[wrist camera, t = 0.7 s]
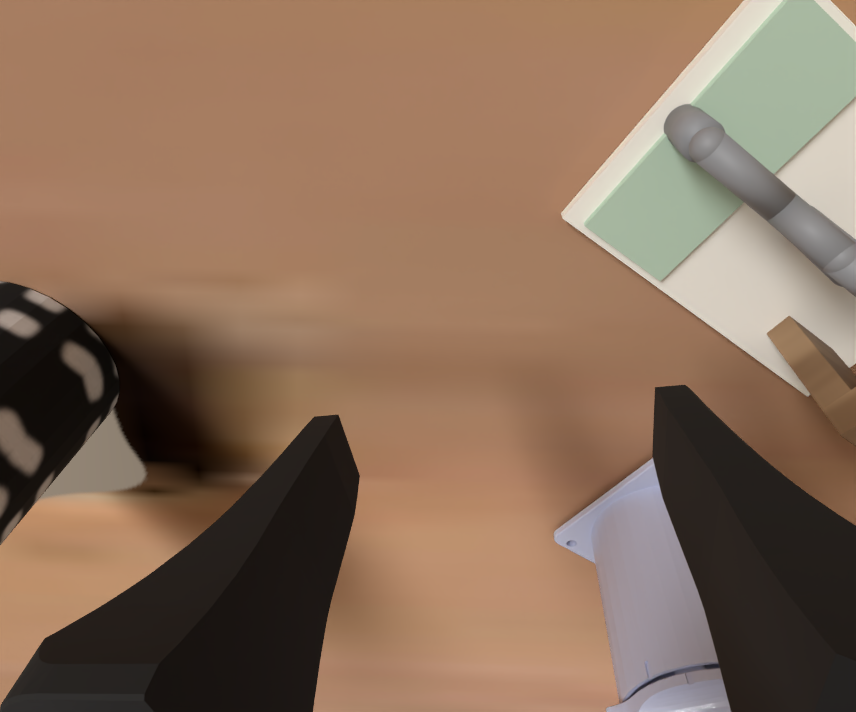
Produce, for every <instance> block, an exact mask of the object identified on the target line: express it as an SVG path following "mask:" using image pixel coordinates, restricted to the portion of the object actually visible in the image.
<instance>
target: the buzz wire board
mask: <svg viewBox="0 0 856 712" xmlns="http://www.w3.org/2000/svg"><path fill="white" fill-rule="evenodd" d="M782 1H783V0H744V1H743V2H742V3H741V4H740V6H739V7H738V8H737V9H736V10H735V11H734V13H733V14H732V15H731V16H730V17H729V18H728V19H727V21H726V22H725V23H724V24H723V25H722V26H721V28H720V29H719V30H718V31H717V32H716V33H715V35H714V36H713V37H712V38H711V39H710V40H709V42H708V43H707V44H706V45H705V46H704V47H703V49H702V50H701V51H700V52H699V53H698V54H697V56H696V57H695V58H694V59H693V60H692V61H691V63H690V64H689V65H688V66H687V67H686V68H685V69H684V71H683V72H682V73H681V74H680V75H679V76H678V78H677V79H676V80H675V81H674V82H673V83H672V85H671V86H670V87H669V88H668V89H667V90H666V92H665V93H664V94H663V95H662V96H661V97H660V99H659V100H658V101H657V102H656V103H655V104H654V106H653V107H652V108H651V109H650V110H649V111H648V113H647V114H646V115H645V116H644V117H643V118H642V119H641V121H640V122H639V123H638V124H637V125H636V126H635V128H634V129H633V130H632V131H631V132H630V133H629V135H628V136H627V137H626V138H625V139H624V140H623V142H622V143H621V144H620V145H619V146H618V147H617V149H616V150H615V151H614V152H613V153H612V154H611V156H610V157H609V158H608V159H607V160H606V161H605V163H604V164H603V165H602V166H601V167H600V168H599V169H598V171H597V172H596V173H595V174H594V175H593V176H592V178H591V179H590V180H589V181H588V182H587V183H586V185H585V186H584V187H583V188H582V189H581V190H580V192H579V193H578V194H577V195H576V196H575V197H574V199H573V200H572V201H571V202H570V203H569V204H568V206H567V207H566V208H565V209H564V210H563V211H562V213H561V215H562V218H563V219H564V220H565V221H567V222H568V223H570V224H571V225H572V226H574V227H575V228H576V229H578V230H579V231H581V232H582V233H583V234H585V235H586V236H587V237H589V238H590V239H592V240H593V241H594V242H596V243H597V244H598V245H600V246H601V247H603V248H604V249H605V250H607V251H608V252H609V253H611V254H612V255H614V256H615V257H616V258H618V259H619V260H620V261H622V262H623V263H625V264H626V265H627V266H629V267H630V268H631V269H633V270H634V271H635V272H637V273H638V274H640V275H641V276H642V277H644V278H645V279H646V280H648V281H649V282H651V283H652V284H653V285H655V286H656V287H657V288H659V289H660V290H662V291H663V292H664V293H666V294H667V295H668V296H670V297H671V298H673V299H674V300H675V301H677V302H678V303H679V304H681V305H682V306H684V307H685V308H686V309H688V310H689V311H690V312H692V313H693V314H695V315H696V316H697V317H699V318H700V319H701V320H703V321H704V322H706V323H707V324H708V325H710V326H711V327H712V328H714V329H715V330H717V331H718V332H719V333H721V334H722V335H723V336H725V337H726V338H728V339H729V340H730V341H732V342H733V343H734V344H736V345H737V346H739V347H740V348H741V349H743V350H744V351H745V352H747V353H748V354H750V355H751V356H752V357H754V358H755V359H756V360H758V361H759V362H761V363H762V364H763V365H765V366H766V367H767V368H769V369H770V370H772V371H773V372H774V373H776V374H777V375H778V376H780V377H781V378H782V379H784V380H785V381H787V382H788V383H789V384H791V385H792V386H793V387H795V388H796V389H798V390H799V391H800V392H802V393H803V394H804V395H806V396H807V397H808V396H809V395H811V394H810V393H809V391H808V390H807V389H806V387H805V386H804V385H803V383H802V382H801V380H800V379H799V378H798V376H797V375H796V374H795V372H794V371H793V369H792V368H791V367H790V365H789V364H788V363H787V361H786V360H785V359H784V357H783V356H782V354H781V353H780V352H779V350H778V349H777V348H776V346H775V345H774V343H773V342H772V341H771V339H770V338H769V337H768V335H767V334H766V333H768V332H769V331H770V330H771V329H773V328H774V327H775V326H776V325H778V324H779V323H780V322H782V321H783V320H784V319H785V318H787V317H788V316H791V317H792V318H793V319H795V320H796V321H797V322H798V323H800V324H801V325H802V326H804V327H805V328H806V329H808V330H809V331H810V332H811V333H813V334H814V335H815V336H817V337H818V338H819V339H820V340H822V341H823V342H824V343H826V344H827V345H828V346H829V347H831V348H832V349H833V350H834V351H835V352H836V353H837V355H838V356H839V357H840V358H841V359H842V360H843V361H844V363H845V364H846V365H847V366H848V367H849V368H850V367H851V366H853V365H854V364H856V97H855V98H854V99H853V100H852V101H850V102H849V103H848V104H847V105H846V106H845V107H844V108H843V109H842V110H841V111H840V112H839V113H838V114H837V115H836V116H835V117H834V118H833V119H831V120H830V121H829V122H828V123H827V124H826V125H825V126H824V127H823V128H822V129H821V130H820V131H819V132H818V133H817V134H816V135H815V136H813V137H812V138H811V139H810V140H809V141H808V142H807V143H806V144H805V145H804V146H803V147H802V148H801V149H800V150H799V151H798V152H797V153H796V154H794V155H793V156H792V157H791V158H790V159H789V160H788V161H787V162H786V163H785V164H784V165H783V166H782V167H781V168H780V169H779V170H778V171H777V172H775V173H774V174H773V173H772V172H770V171H769V170H768V169H767V168H766V167H765V166H763V165H762V164H761V163H760V162H759V161H758V160H756V159H755V158H754V157H753V156H752V155H751V154H749V153H748V152H747V151H746V150H745V149H744V148H743V147H741V146H740V145H739V144H738V143H737V142H736V141H734V140H733V139H732V138H731V137H730V136H729V135H727V134H726V133H725V130H724V127H723V126H722V125H721V124H720V123H719V122H718V121H716V120H715V119H714V118H712V117H711V116H710V115H708V114H707V113H705V112H704V111H703V110H701V109H700V108H698V107H695V106H692V105H691V102H692V101H693V100H694V99H695V98H696V97H697V96H698V95H699V94H700V92H701V91H702V90H703V89H704V88H705V87H706V86H707V85H708V83H709V82H710V81H711V80H712V79H713V78H714V77H715V76H716V75H717V73H718V72H719V71H720V70H721V69H722V68H723V67H724V66H725V64H726V63H727V62H728V61H729V60H730V59H731V58H732V57H733V56H734V54H735V53H736V52H737V51H738V50H739V49H740V48H741V47H742V46H743V44H744V43H745V42H746V41H747V40H748V39H749V38H750V37H751V35H752V34H753V33H754V32H755V31H756V30H757V29H758V28H759V27H760V25H761V24H762V23H763V22H764V21H765V20H766V19H767V18H768V16H769V15H770V14H771V13H772V12H773V11H774V10H775V9H776V8H777V6H778V5H779V4H780V3H781V2H782ZM814 1H815V2H816V3H817V4H818V5H819V6H820V7H821V8H822V9H823V10H824V11H825V12H826V13H827V14H828V15H829V16H830V17H831V18H832V19H833V20H834V21H835V22H836V23H837V24H838V25H839V26H840V27H841V28H842V29H843V30H844V31H845V32H846V33H847V34H848V35H849V36H850V37H851V38H852V39H853V40H854V41H855V42H856V26H855V25H854V24H853V23H852V22H851V21H850V20H849V19H848V18H847V17H846V16H845V15H844V14H843V13H842V12H841V11H840V10H839V9H838V8H837V7H836V6H835V5H834V4H833V3H832V2H831V1H830V0H814ZM664 133H665V134H666V135H667V138H668V140H669V141H670V142H671V143H672V145H673V146H674V147H675V148H676V149H677V150H678V151H679V152H680V153H681V154H682V155H683V156H684V157H685V158H686V159H687V160H689V161H691V162H695V163H697V164H698V165H699V166H701V167H702V168H703V169H704V170H705V171H707V172H708V173H709V174H710V175H712V176H713V177H714V178H715V179H716V180H718V181H719V182H720V183H721V184H722V185H724V186H725V187H726V188H727V189H729V190H730V191H731V192H732V193H733V194H735V195H736V196H737V197H738V198H739V199H741V200H742V201H743V202H744V203H743V204H742V205H741V206H740V207H738V208H737V209H736V210H735V211H734V212H733V213H732V214H731V215H730V216H729V217H728V218H727V219H726V220H725V221H724V222H723V223H722V224H720V225H719V226H718V227H717V228H716V229H715V230H714V231H713V232H712V233H711V234H710V235H709V236H708V237H707V238H706V239H705V240H704V241H703V242H701V243H700V244H699V245H698V246H697V247H696V248H695V249H694V250H693V251H692V252H691V253H690V254H689V255H688V256H687V257H686V258H685V259H684V260H682V261H681V262H680V263H679V264H678V265H677V266H676V267H675V268H674V269H673V270H672V271H671V272H670V273H669V274H668V275H667V276H666V277H664V278H663V279H662V280H661V281H659V280H658V279H656V278H655V277H653V276H652V275H651V274H649V273H648V272H647V271H645V270H644V269H643V268H641V267H640V266H638V265H637V264H636V263H634V262H633V261H632V260H630V259H629V258H628V257H626V256H625V255H623V254H622V253H621V252H619V251H618V250H617V249H615V248H614V247H613V246H611V245H610V244H608V243H607V242H606V241H604V240H603V239H602V238H600V237H599V236H597V235H596V234H595V233H593V232H592V231H591V230H589V229H588V228H587V227H585V225H584V222H585V221H586V220H587V219H588V217H589V216H590V215H591V214H592V213H593V212H594V211H595V210H596V208H597V207H598V206H599V205H600V204H601V203H602V202H603V201H604V200H605V198H606V197H607V196H608V195H609V194H610V193H611V192H612V191H613V189H614V188H615V187H616V186H617V185H618V184H619V183H620V182H621V181H622V179H623V178H624V177H625V176H626V175H627V174H628V173H629V172H630V171H631V169H632V168H633V167H634V166H635V165H636V164H637V163H638V162H639V160H640V159H641V158H642V157H643V156H644V155H645V154H646V153H647V152H648V150H649V149H650V148H651V147H652V146H653V145H654V144H655V143H656V142H657V140H658V139H659V138H660V137H661V136H662V135H663V134H664Z"/></svg>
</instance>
